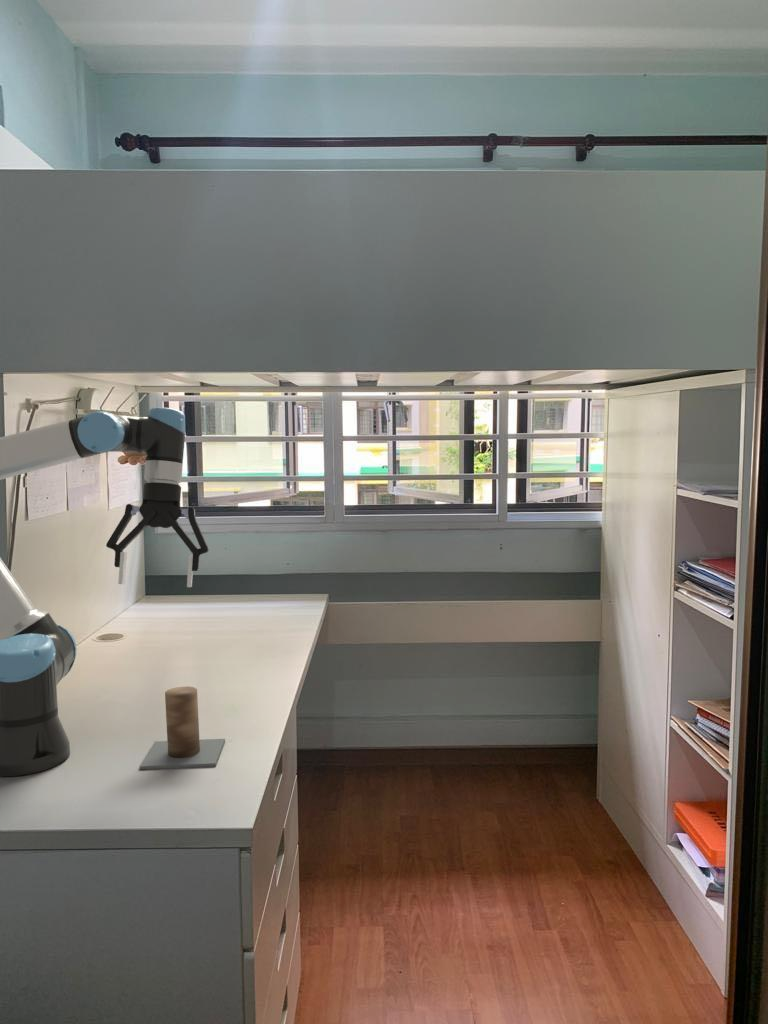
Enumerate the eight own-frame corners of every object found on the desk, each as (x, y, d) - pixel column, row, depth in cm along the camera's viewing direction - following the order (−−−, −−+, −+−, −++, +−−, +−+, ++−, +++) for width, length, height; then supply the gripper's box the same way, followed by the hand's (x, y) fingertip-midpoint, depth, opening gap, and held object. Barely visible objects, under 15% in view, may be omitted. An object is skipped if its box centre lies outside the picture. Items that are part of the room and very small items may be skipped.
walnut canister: (164, 758, 145) (161, 697, 144) (171, 746, 151) (168, 687, 150) (196, 757, 145) (193, 696, 144) (202, 744, 151) (199, 685, 150)
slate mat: (139, 769, 142) (139, 766, 142) (154, 744, 154) (154, 741, 154) (215, 766, 143) (215, 763, 142) (225, 741, 154) (225, 738, 154)
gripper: (224, 488, 164) (218, 587, 163) (104, 480, 161) (96, 581, 160) (222, 485, 157) (215, 589, 156) (96, 477, 153) (88, 583, 152)
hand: (155, 585), depth 158 cm, fingers open, 13 cm apart
